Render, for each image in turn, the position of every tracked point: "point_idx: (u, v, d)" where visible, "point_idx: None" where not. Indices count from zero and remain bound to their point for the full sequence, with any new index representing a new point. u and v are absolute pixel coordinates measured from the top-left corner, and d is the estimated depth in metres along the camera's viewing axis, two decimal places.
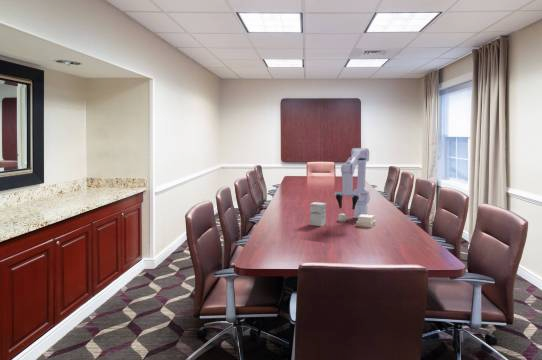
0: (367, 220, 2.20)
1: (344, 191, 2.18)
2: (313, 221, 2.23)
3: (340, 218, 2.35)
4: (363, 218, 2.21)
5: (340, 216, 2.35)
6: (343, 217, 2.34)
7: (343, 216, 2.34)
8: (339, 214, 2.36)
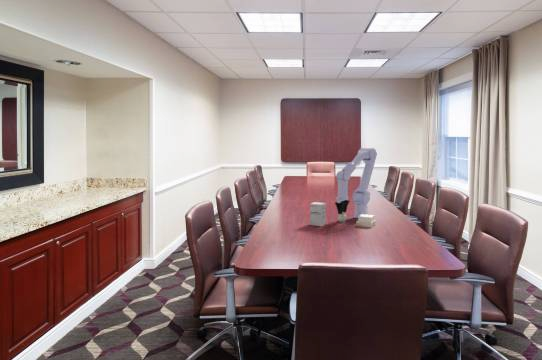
0: (367, 220, 2.20)
1: None
2: (313, 221, 2.23)
3: (340, 218, 2.35)
4: (363, 218, 2.21)
5: (340, 216, 2.35)
6: (343, 217, 2.34)
7: (343, 216, 2.34)
8: (339, 214, 2.36)
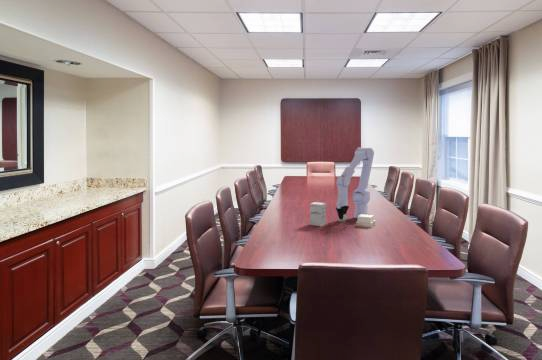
0: (367, 220, 2.20)
1: None
2: (313, 221, 2.23)
3: None
4: (363, 218, 2.21)
5: None
6: (343, 217, 2.34)
7: (343, 216, 2.34)
8: None
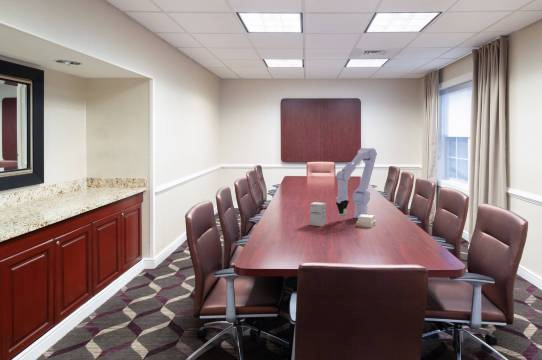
0: (367, 220, 2.20)
1: None
2: (313, 221, 2.23)
3: None
4: (363, 218, 2.21)
5: None
6: (343, 211, 2.34)
7: None
8: None
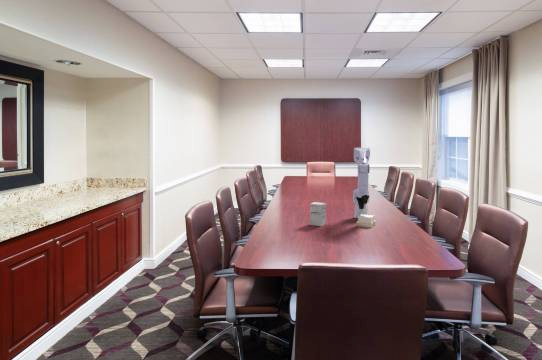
0: (367, 220, 2.20)
1: None
2: (313, 221, 2.23)
3: None
4: (363, 218, 2.21)
5: None
6: None
7: None
8: None
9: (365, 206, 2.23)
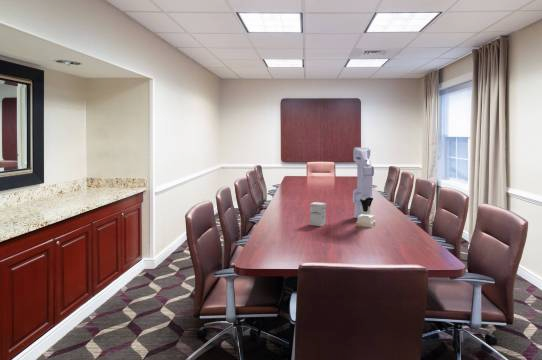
0: (367, 220, 2.20)
1: None
2: (313, 221, 2.23)
3: None
4: (363, 218, 2.21)
5: None
6: None
7: None
8: None
9: (369, 208, 2.22)
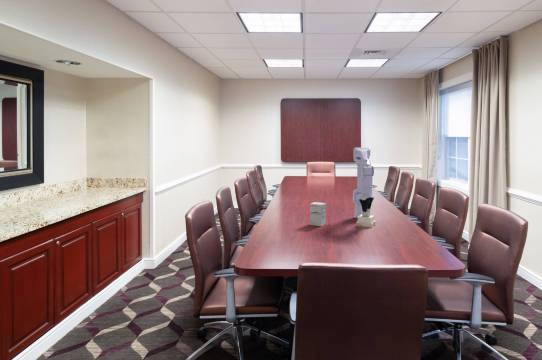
0: (367, 220, 2.20)
1: None
2: (313, 221, 2.23)
3: (364, 213, 2.22)
4: (363, 218, 2.21)
5: None
6: (367, 212, 2.22)
7: (367, 211, 2.22)
8: None
9: (369, 211, 2.22)
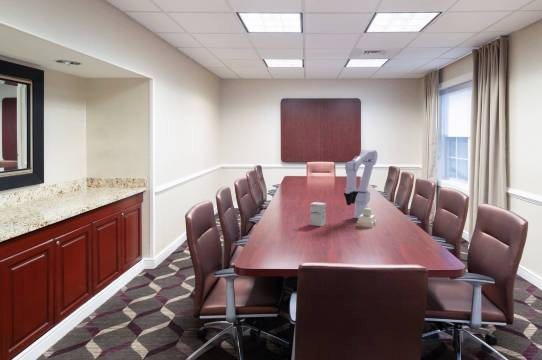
0: (367, 220, 2.20)
1: None
2: (313, 221, 2.23)
3: (365, 213, 2.21)
4: (363, 218, 2.21)
5: (365, 211, 2.21)
6: (368, 212, 2.21)
7: (368, 211, 2.21)
8: (364, 209, 2.23)
9: (370, 211, 2.21)
